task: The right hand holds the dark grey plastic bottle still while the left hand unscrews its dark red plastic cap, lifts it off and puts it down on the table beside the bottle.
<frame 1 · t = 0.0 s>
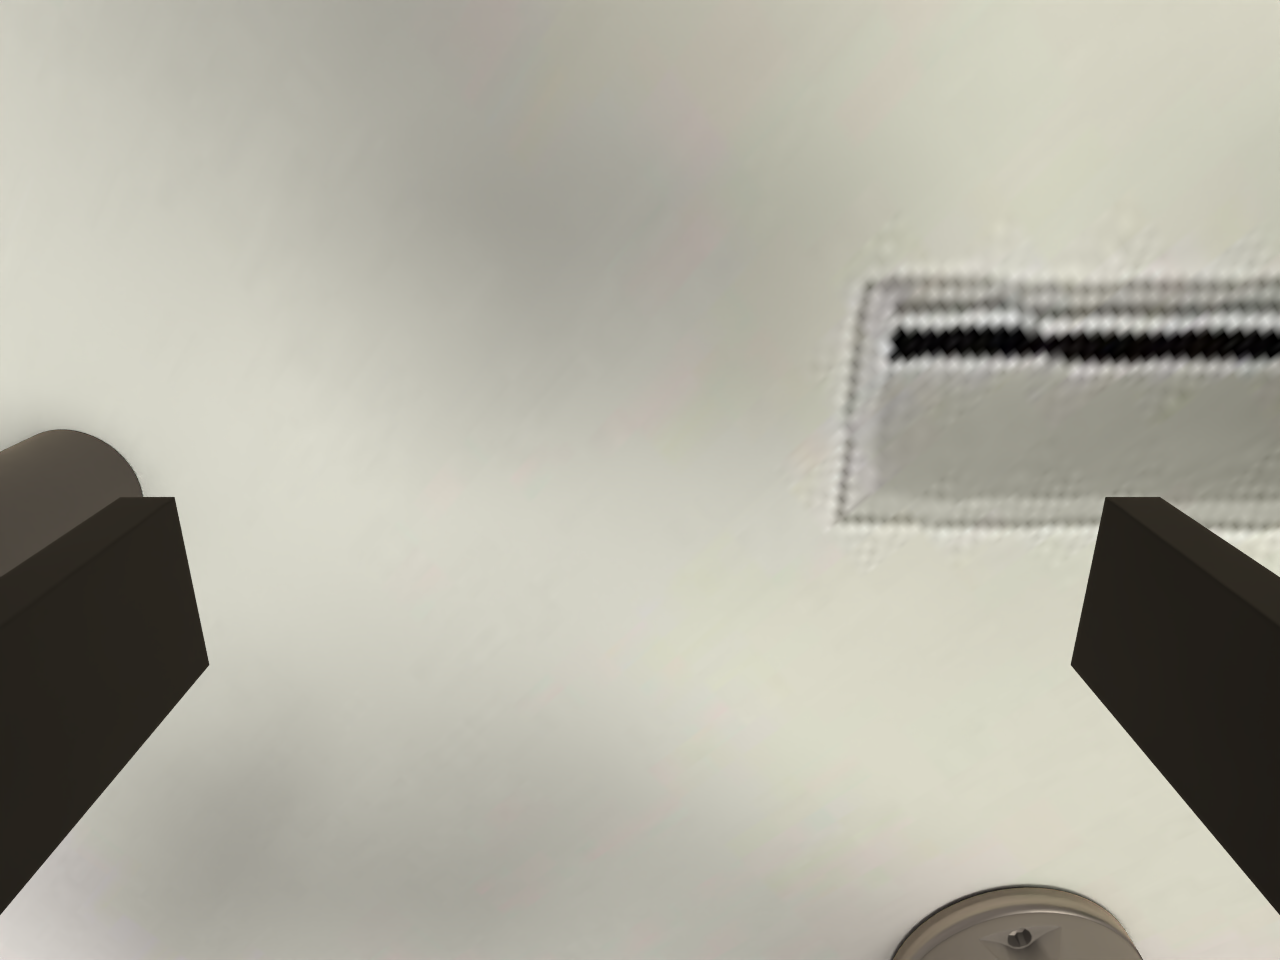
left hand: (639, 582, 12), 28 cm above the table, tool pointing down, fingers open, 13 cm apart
bottle: (77, 491, 42), on the table
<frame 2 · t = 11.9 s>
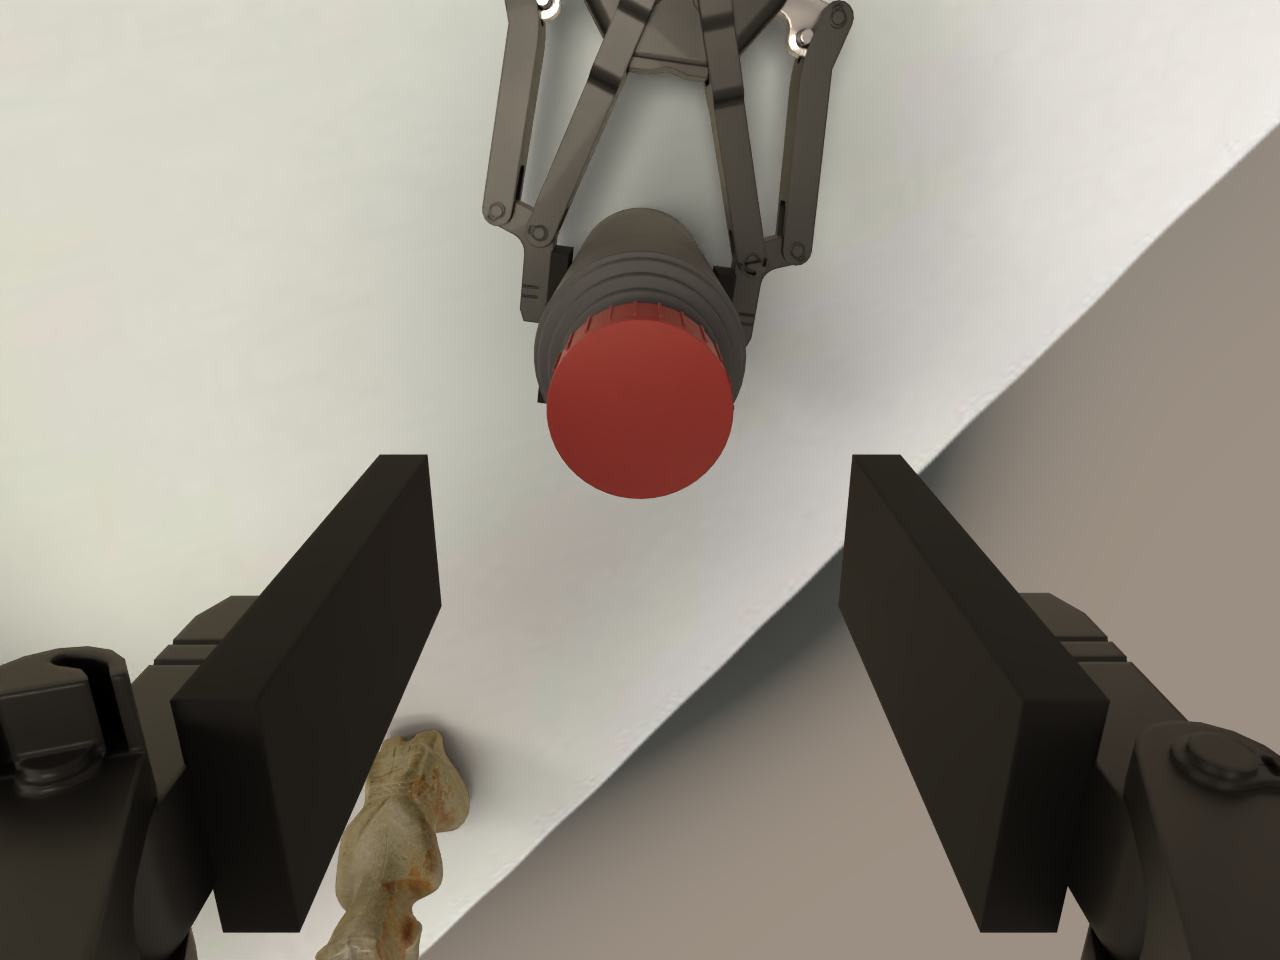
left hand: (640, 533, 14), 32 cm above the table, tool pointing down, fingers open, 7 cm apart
right hand: (625, 404, 39), fingers closed on bottle, 6 cm apart
sculpture: (427, 763, 54), on the table
cap: (640, 409, 21), point 25 cm above the table, screwed on, not yet turned
bottle: (640, 273, 44), on the table, touching right hand
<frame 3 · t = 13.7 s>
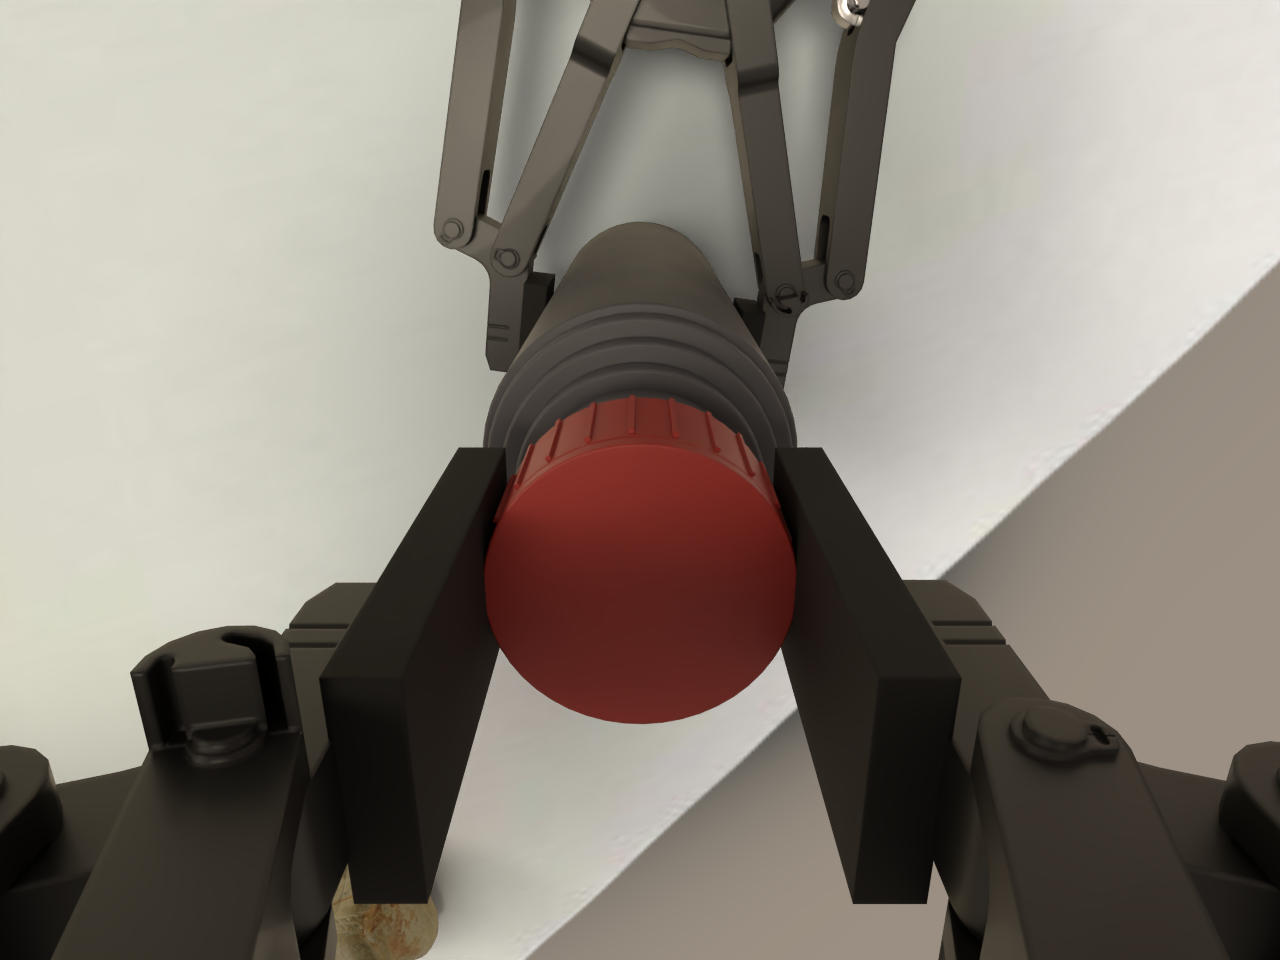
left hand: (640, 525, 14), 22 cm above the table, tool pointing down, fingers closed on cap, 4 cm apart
right hand: (622, 472, 31), fingers closed on bottle, 6 cm apart
sculpture: (389, 874, 46), on the table
cap: (640, 583, 12), point 25 cm above the table, screwed on, not yet turned, touching left hand
bottle: (640, 302, 35), on the table, touching right hand
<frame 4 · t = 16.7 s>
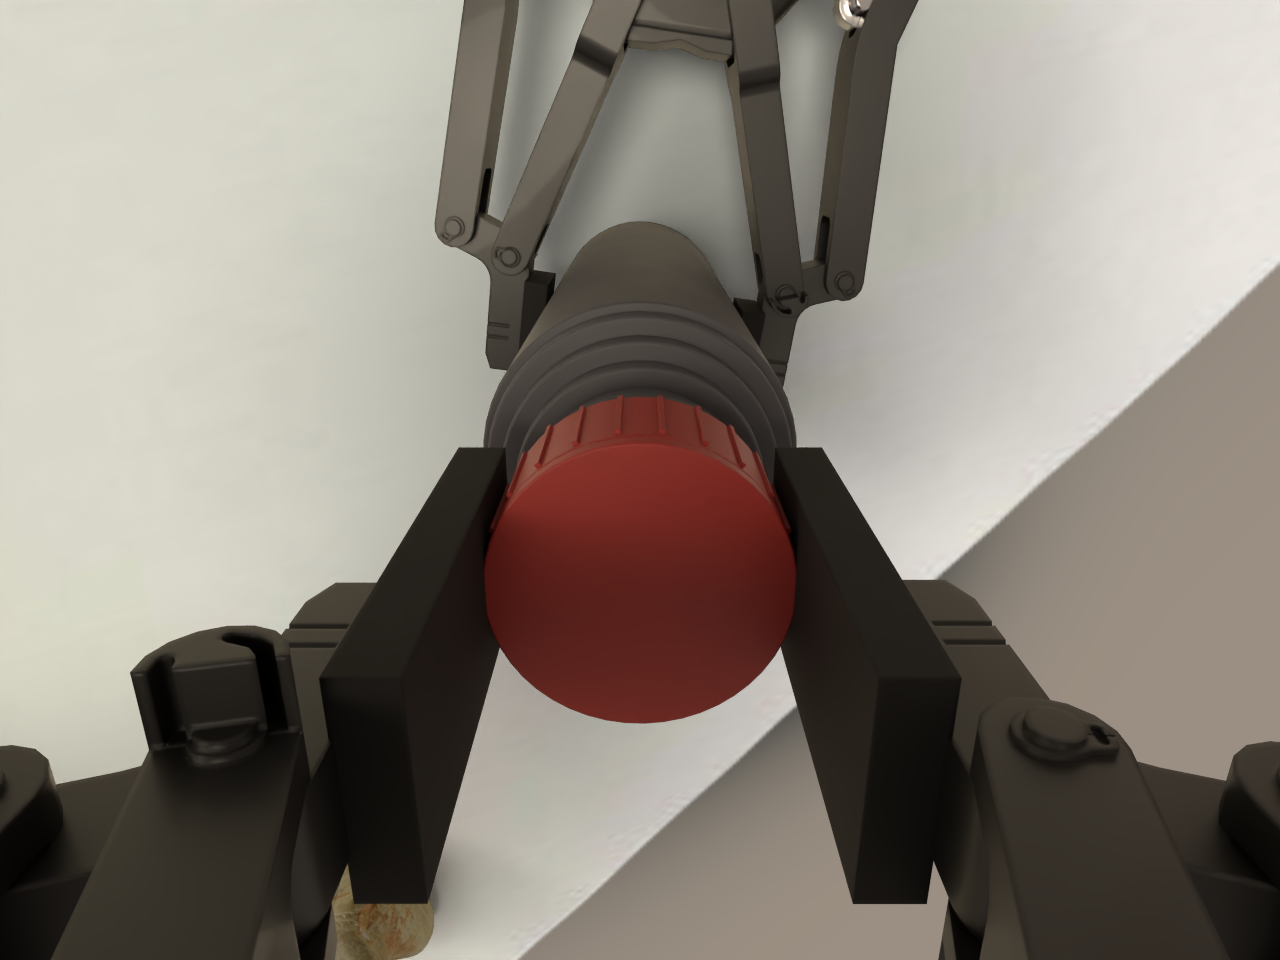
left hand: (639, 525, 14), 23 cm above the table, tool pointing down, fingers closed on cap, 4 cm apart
right hand: (621, 471, 31), fingers closed on bottle, 6 cm apart
sculpture: (385, 871, 46), on the table
cap: (640, 582, 12), point 25 cm above the table, turned 83° so far, risen 0.1 cm, still on its thread, touching left hand
bottle: (640, 301, 35), on the table, touching right hand
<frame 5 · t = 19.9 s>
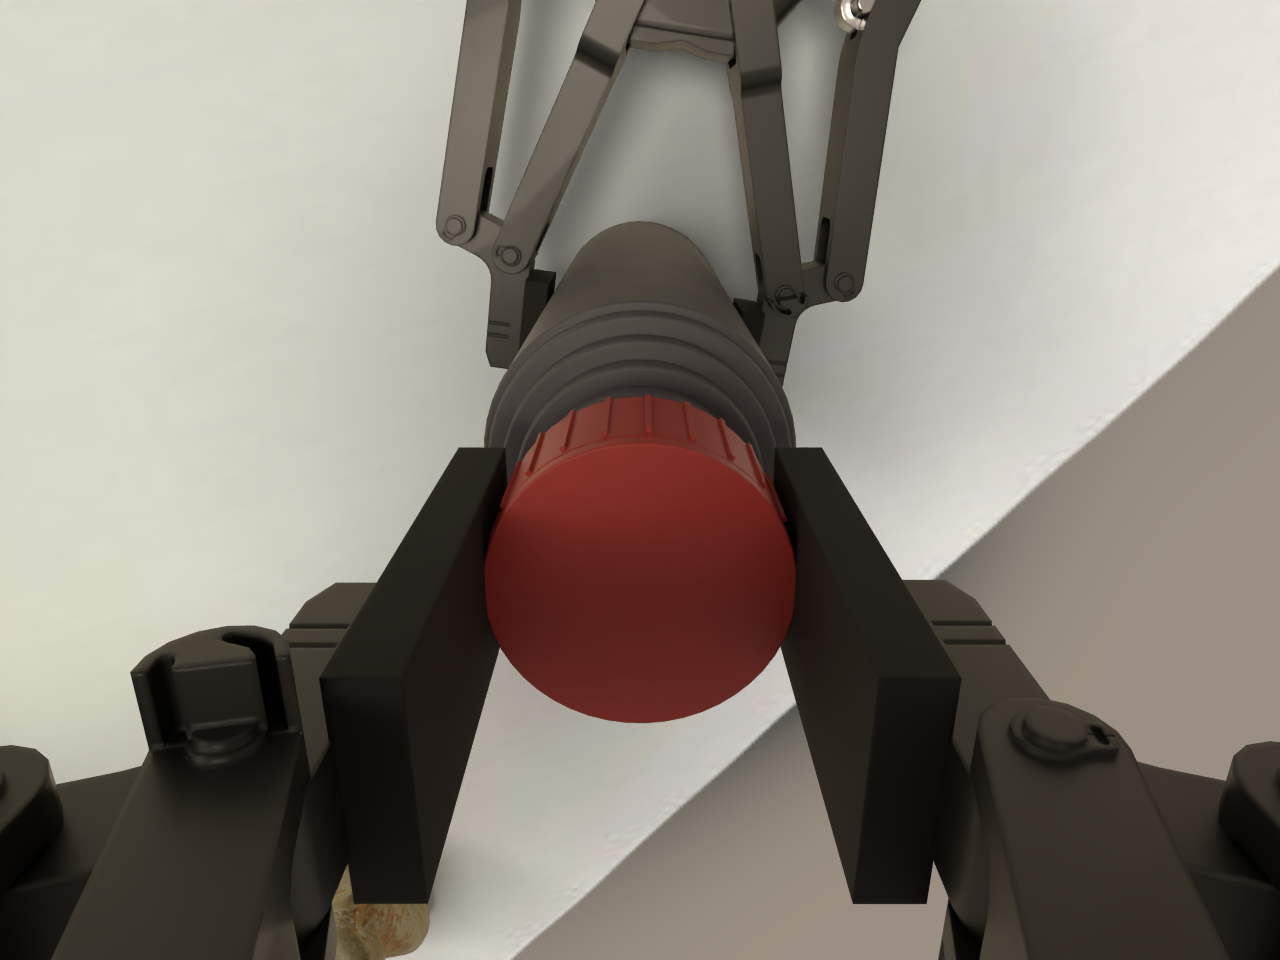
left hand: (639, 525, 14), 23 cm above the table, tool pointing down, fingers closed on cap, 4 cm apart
right hand: (620, 470, 31), fingers closed on bottle, 6 cm apart
sculpture: (381, 868, 46), on the table
cap: (640, 582, 12), point 25 cm above the table, turned 167° so far, risen 0.1 cm, still on its thread, touching left hand
bottle: (639, 301, 35), on the table, touching right hand
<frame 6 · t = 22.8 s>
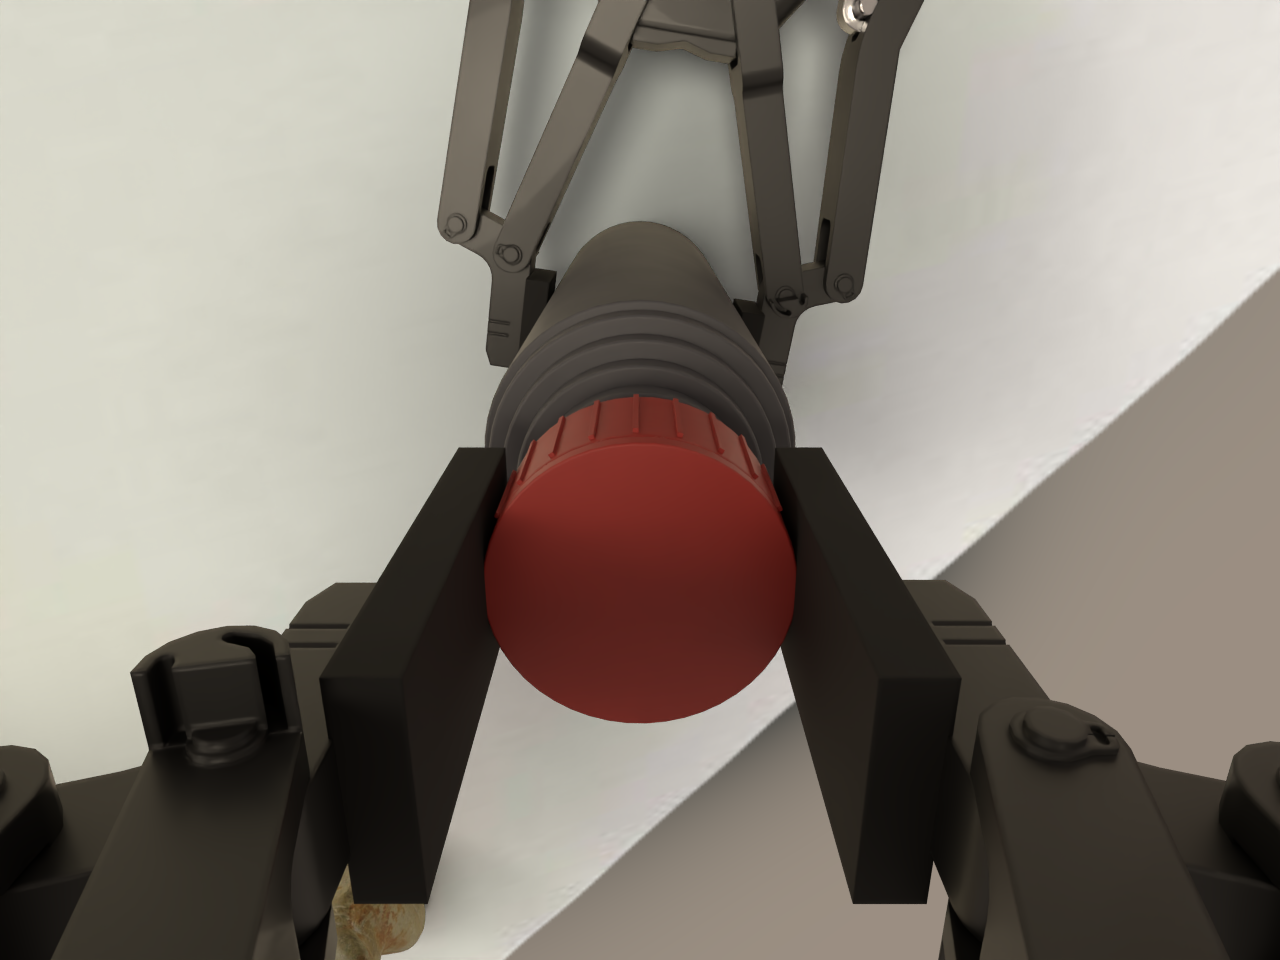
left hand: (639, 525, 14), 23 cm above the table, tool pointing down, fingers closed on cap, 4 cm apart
right hand: (619, 469, 31), fingers closed on bottle, 6 cm apart
sculpture: (377, 866, 46), on the table
cap: (640, 582, 12), point 25 cm above the table, turned 250° so far, risen 0.2 cm, still on its thread, touching left hand
bottle: (640, 301, 36), on the table, touching right hand
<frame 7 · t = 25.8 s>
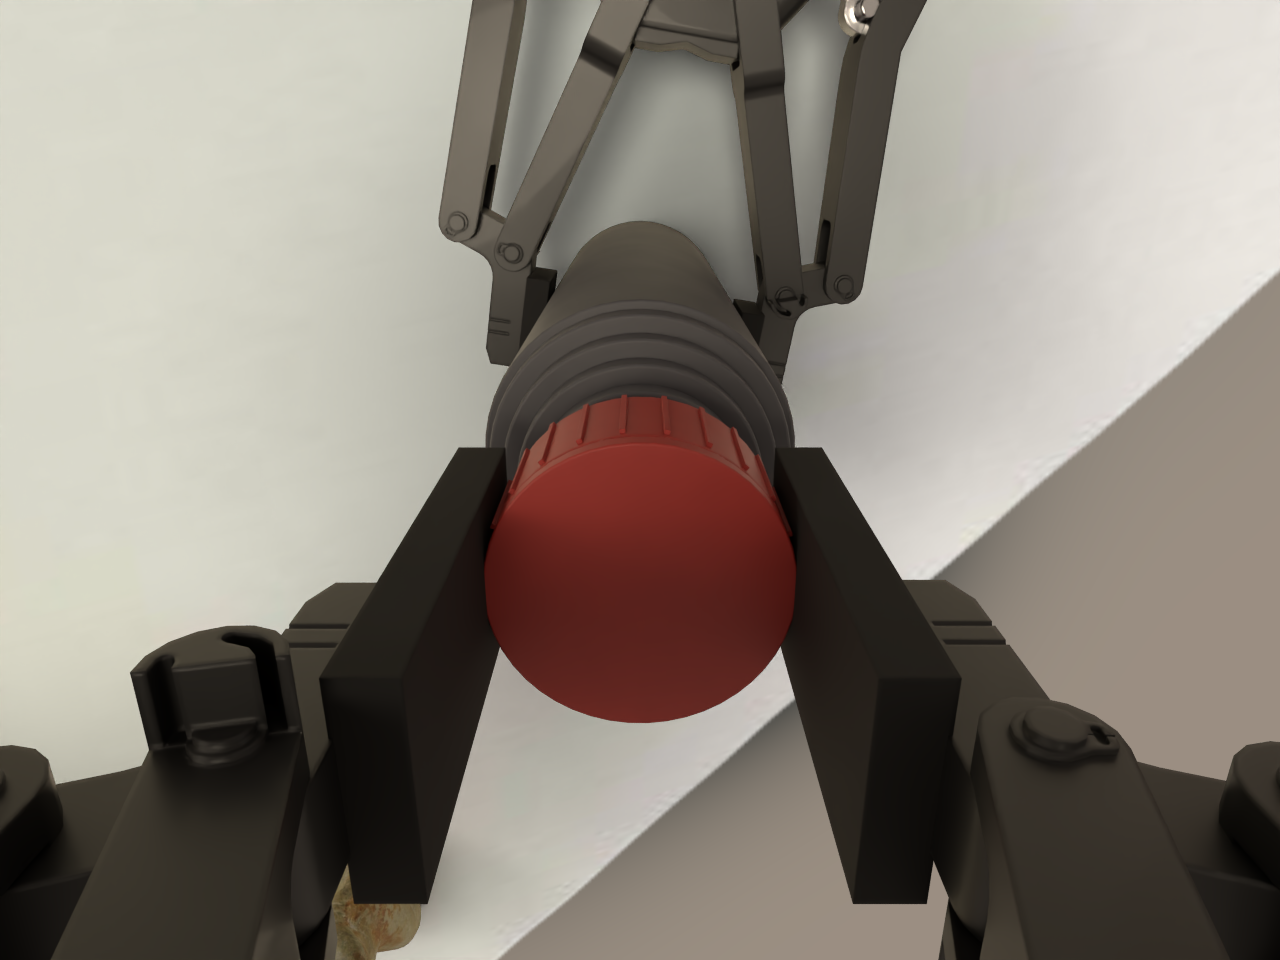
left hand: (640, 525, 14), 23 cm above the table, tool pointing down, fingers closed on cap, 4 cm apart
right hand: (618, 468, 31), fingers closed on bottle, 6 cm apart
sculpture: (373, 863, 46), on the table
cap: (640, 582, 12), point 25 cm above the table, turned 333° so far, risen 0.3 cm, still on its thread, touching left hand
bottle: (640, 300, 36), on the table, touching right hand
when the left hand's fingers open (1 cm above the table, at t = 32.7 s): cap drops 1 cm, point 2 cm above the table.
when the right hand's fingers open (6 cm above the table, at t = 33.9 s): bottle stays where it is, on the table.
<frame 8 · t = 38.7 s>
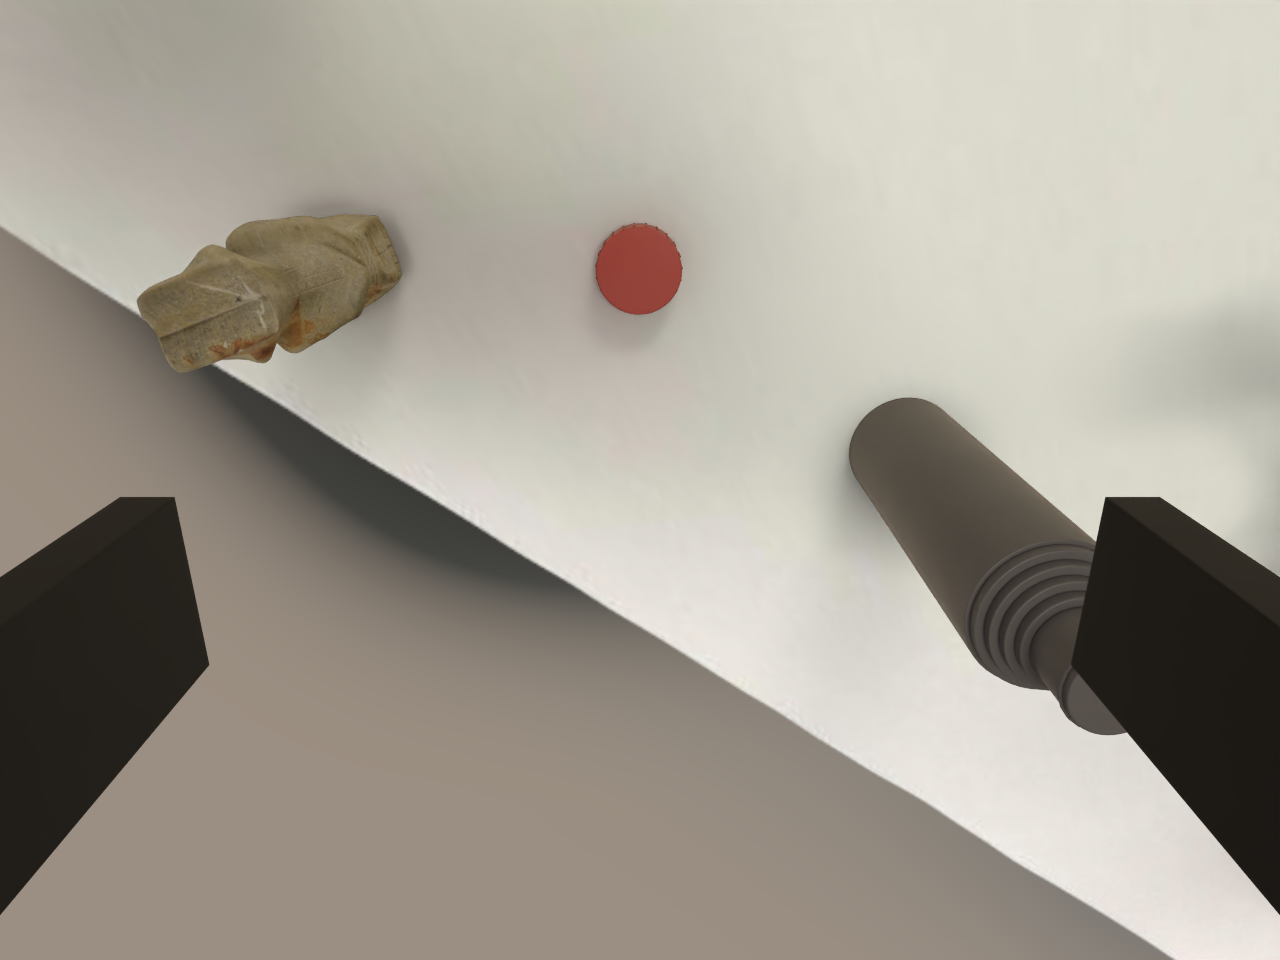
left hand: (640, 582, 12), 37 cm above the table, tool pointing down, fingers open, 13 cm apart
sculpture: (346, 261, 47), on the table
cap: (639, 270, 45), point 2 cm above the table, off its thread
bottle: (903, 449, 51), on the table
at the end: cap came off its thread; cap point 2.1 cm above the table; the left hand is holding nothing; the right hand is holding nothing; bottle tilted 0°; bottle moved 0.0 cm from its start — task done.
